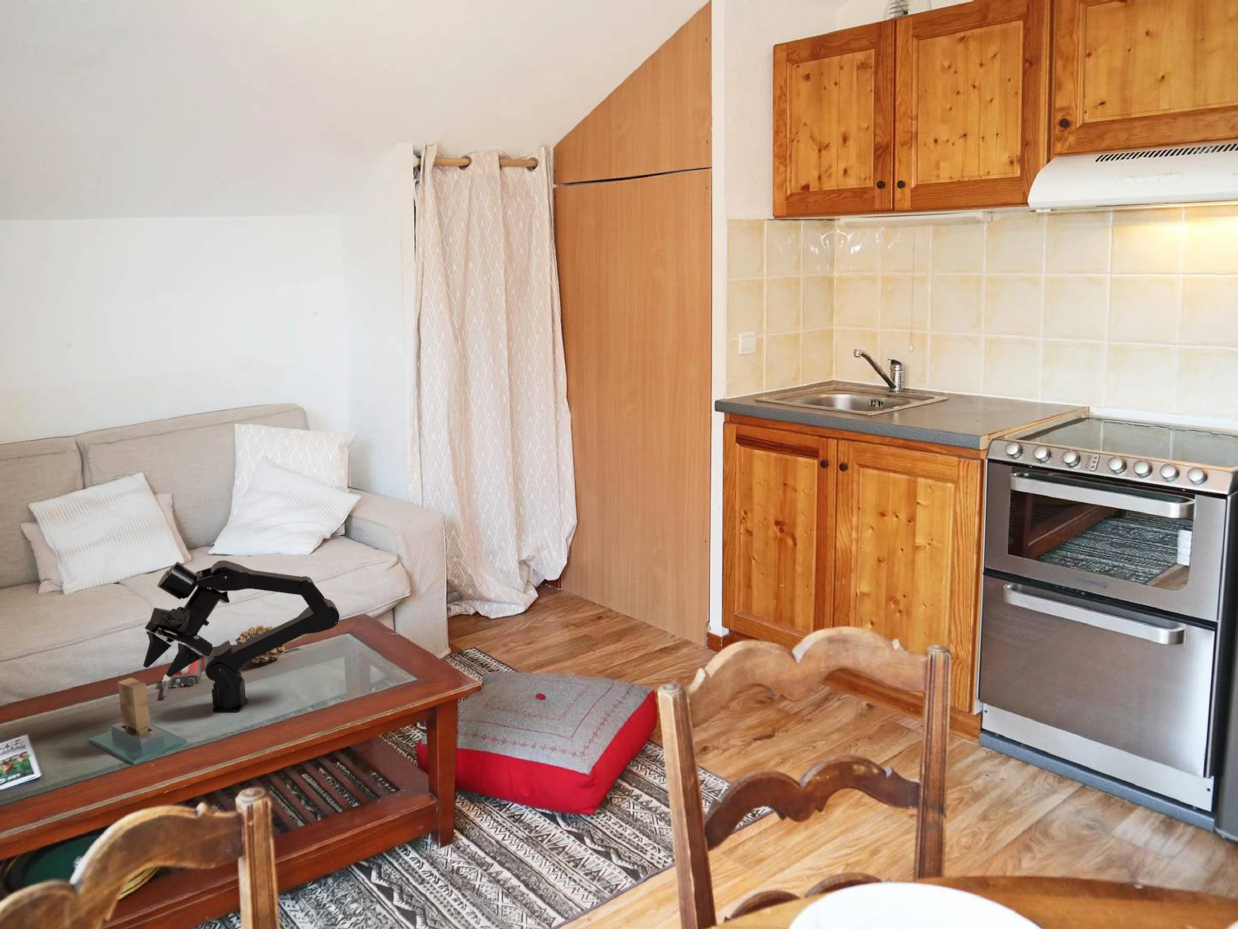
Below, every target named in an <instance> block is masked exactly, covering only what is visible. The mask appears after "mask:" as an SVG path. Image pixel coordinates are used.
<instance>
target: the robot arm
mask: <svg viewBox="0 0 1238 929" xmlns="http://www.w3.org/2000/svg"><path fill="white" fill-rule="evenodd" d="M157 587H158V588H159V589H161V590H162V591H164V592H166V593H167V594H169V595H170V596H172V597H174V598H176V599H177V600H182V599H183V600H185V599H188V598H189V599H188V600H187V602H186V604H185V605H184V606H178V607H177V608H172V609H164V608H160V607H153V610H152V613H151V615H150V616H151V617H150V620H149V621H148V623H147V624H146V625H145V626H144V629H145V630H146V635H147V637H148V640H149V644H148V648H147V652H146V654H145V658H144V661H143V667H144V668H146V669H148V668H150V667H151V665H153V664H154V663H156V661H157V660H159V658H160V657H162V655H163V654H164V653H165V652H167V651H168V650H169V649H170V648H171V647H172V644H171V643H173V642H175V641H176V642H178V643H177V652H176V655H175V657H174V658H173V660H172V662H171V664H170V666H169V667H168V670H167V671H166V673H165V674H166V675H167V676H168V677H171V676H173V675H174V674H176V673H178V672H179V671H181V670H182V669H184V668H185V667H187V666H188V665H190V664H192V663H194V662H195V661H197V660H203V659H204V673H205V675H206V677H207V678H208V680H211V681H212V682H213V683H212V685H213V686H212V687H213V688H211V700H212V706H213V707H212V709H211V712H213V713H214V712H222V713H223V712H232V713H233V712H240V711H241V710H242V709H244V707H245V706H246V705H247V703H248V702H249V701H250V699H249V698H247V696H246V695H247V694H246V682H245V678H243V675H242V669H241V668H242V667H243V668H244V666H245V665H246V664H247V663H249V662H250V661H252V659H254V658H256V657H258V656H261V655H263V654H265V653H267V652H269V651H271V650H273V649H275V648H277V647H279V646H281V645H283V644H286V643H288V642H290V641H292V640H294V639H296V638H298V637H300V636H302V635H305V634H308V635H311V634H318V633H322V632H326V631H329V630H331V629H334V628H335V627H336V626H337V625H338V623H339V621H340V612H339V610H338V608H337V606H336V604H335V603H334V601H332V600H331V599H328V598H325V596H324V595H323V593H322V592H321V591H320V590H319V588H318V587H317V586H316V584H315V583H314V581H313V579H312V578H311V577H310V576H306V575H304V576H299V575H291V574H284V573H278V572H277V573H276V572H270V571H262V570H255V569H251V568H248V567H246V566H243V565H242V564H239V563H235V562H233V561H229V560H225V559H224V560H222V559H221V560H218V561H217V562H215V563H213V565H211V566H210V567H207V568H204V569H201V570H197V571H196V572H194V571H192V570H190V569H188V568H187V567H185V566H184V565H183V564H182V563H181V562H179V561H176V562H175V563H174V565H172V566H171V567H170V568H169V569H168V570H166V571H165V572H164V574H163V575H162V576H161V578H160V580H159V582H158V583H157ZM195 588H196V589H195ZM243 590H259V591H267V592H274V593H281V594H289V595H298V596H301V597H302V598H303V600H304V601H305V603H306V604H307V607H306V608H305V609H303V611H302V612H301V613H300V614H299V615H298V616H296V617H294V618H293V619H290V620H288V621H286V622H284V623H281V624H280V625H278V626H275V627H273V629H271V630H269V631H267V632H265V633H263V634H261V635H258V636H256V637H254V638H252V639H250V640H248V641H246V642H244V643H242V644H238V645H237V644H231V642H230V640H226V641H224V642H222V643H221V644H220V645H217V646H213V643H211V642H209V641H208V640H207V639H205V638H204V637H202V636H201V635H199V634H198V633H199V632H200V631H201V629H202V627H203V626H206V627H208V625H210V621H208V618H209V617H210V615H211V614H212V612H213V611H214V609H215V608H216V606H217V605H218V603H219V602H221V603H222V604H229V603H230V598H229V595H228V593H229V592H235V591H237V592H238V591H243ZM192 593H193V594H192ZM288 644H289V643H288ZM286 645H287V644H286ZM204 656H205V657H204ZM248 661H249V662H248Z"/></svg>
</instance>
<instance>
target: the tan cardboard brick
mask: <svg viewBox="0 0 1238 929" xmlns="http://www.w3.org/2000/svg"><path fill="white" fill-rule="evenodd" d="M117 687H118V697H119V698H118V699H119V705H120V713H121V714H120V715H121V716H120V717H121V722H122V723H123V724H125V729H126V730H130V729H132V728H134V729H136V733H137V735H142V734H144V733H147V732H148V726H150V723H151V719H150V717H151V716H150V710H149V700H148V689H147V683H145V682H143V681H140V680H138V679H135V678H133V677H128V678H126V679H122V680H119V681H117Z"/></svg>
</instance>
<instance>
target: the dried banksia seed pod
mask: <svg viewBox="0 0 1238 929" xmlns="http://www.w3.org/2000/svg"><path fill="white" fill-rule="evenodd" d="M273 628H274V627H273V626H272V625H269V626H263V625H258V624H257V625H256V627H254V626H250V628H247V630H244V631H243V632H242V631H241V632H239V634H240V635H238V637H237V638H235V642H236V645H238V644H242V643H244V642H246V641H248V640H250V639H252V638H254V637H256V636H258V635H261V634H263V633H265V632H267V631H269V630H271V629H273ZM308 635H309V634H305V635H302V636H300V637H298V638H296V639H294V640H292V641H290V642H288V643H286V644H283V645H281V646H279V647H277V648H275V649H273V650H271V651H269V652H267V653H265V654H263V655H261V656H258V657H256V658H254V659H252V660H251V661H252V663H253V664H258V663H260V661H261V662H262V663H268V662H269V661H270V660H272V661H274V660H276V659H279V658H280V655H284V653H285V652H284V651H286V648H285V646H286V645H289V644H291V643H294V642H296V641H298V640H300V639H302V638H304V637H306V636H308ZM249 662H250V661H248V662H247V663H249Z"/></svg>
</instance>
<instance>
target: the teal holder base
mask: <svg viewBox="0 0 1238 929" xmlns="http://www.w3.org/2000/svg"><path fill="white" fill-rule="evenodd" d="M187 741H188V740H187V739H185V738H184V737H181V736H178V735H176V734H174V733H172V732H170V731H168V730H166V729H163V728H162V727H159V726H157V725H155V724H152V723H151V722H150V726H148V732H147V733H144V734H142V735H137V733H136V729H134V728H132V729H130V730H126V729H125V724H123V723H122V721H120V722H117V723H114V724H112V725H110V730H109V731H107V732H106V731H105V732H104V733H101V734H98V735H95V736H93V737H90V738H89V743H91V744H93V745H95V746H97V747H99V748H101V749H102V750H105V751H107V752H109V753H110V754H113V755H115V756H116V757H119V758H120V759H123V760H124V761H126V762H128V763H131V764H132V765H137V764H138V763H141V762H143V761H147V760H149V759H151V758H154V757H156V756H159V755H161V754H163V753H166V752H168V751H171V750H174V749H176V748H178V747H181V746H184V745H186V744H187V743H188V742H187Z"/></svg>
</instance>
